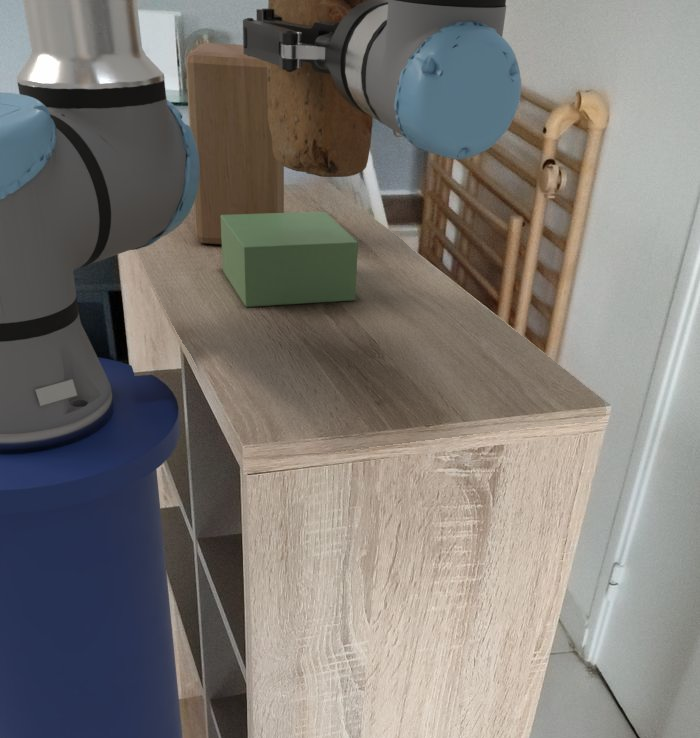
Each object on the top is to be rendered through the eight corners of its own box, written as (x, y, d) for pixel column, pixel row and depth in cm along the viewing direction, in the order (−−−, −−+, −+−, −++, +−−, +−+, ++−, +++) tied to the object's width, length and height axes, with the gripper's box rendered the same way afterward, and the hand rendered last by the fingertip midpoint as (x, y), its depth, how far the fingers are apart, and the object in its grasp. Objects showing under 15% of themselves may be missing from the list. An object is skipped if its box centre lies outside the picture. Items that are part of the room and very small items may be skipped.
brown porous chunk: (261, 158, 89) (260, -99, 77) (326, 155, 92) (335, -93, 80) (314, 184, 82) (322, -96, 69) (382, 179, 85) (402, -90, 73)
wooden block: (194, 245, 109) (183, 51, 96) (207, 223, 116) (199, 41, 104) (276, 250, 109) (276, 57, 96) (284, 227, 116) (284, 46, 104)
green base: (245, 307, 93) (244, 247, 89) (222, 270, 102) (220, 214, 98) (355, 300, 96) (358, 242, 92) (323, 265, 105) (325, 211, 101)
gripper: (250, 120, 66) (197, 73, 83) (512, 120, 72) (413, 76, 89) (248, -3, 62) (192, -26, 78) (528, 7, 67) (421, -17, 84)
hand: (310, 28), depth 84 cm, fingers closed on brown porous chunk, 9 cm apart
